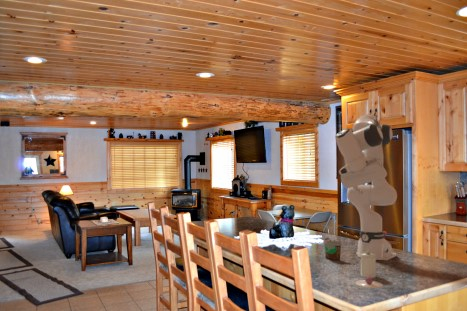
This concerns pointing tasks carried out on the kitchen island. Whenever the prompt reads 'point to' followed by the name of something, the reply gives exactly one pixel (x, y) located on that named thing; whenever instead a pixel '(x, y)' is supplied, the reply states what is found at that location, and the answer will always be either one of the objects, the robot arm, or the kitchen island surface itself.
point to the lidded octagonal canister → (368, 264)
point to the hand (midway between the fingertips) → (370, 191)
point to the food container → (332, 249)
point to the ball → (369, 280)
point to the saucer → (372, 285)
